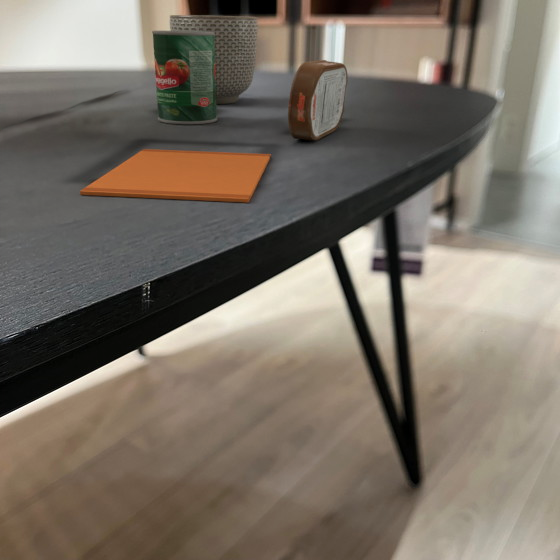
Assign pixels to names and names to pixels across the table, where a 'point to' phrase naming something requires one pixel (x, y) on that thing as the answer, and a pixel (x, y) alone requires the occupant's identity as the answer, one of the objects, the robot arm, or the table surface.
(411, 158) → the table surface
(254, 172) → the orange flat rectangular slab
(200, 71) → the canned tomato
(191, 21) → the planter
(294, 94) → the tin
